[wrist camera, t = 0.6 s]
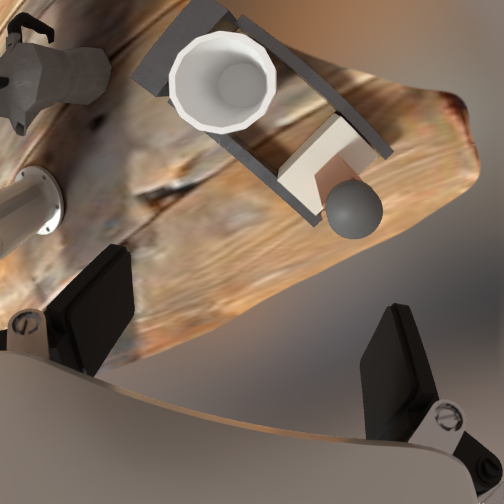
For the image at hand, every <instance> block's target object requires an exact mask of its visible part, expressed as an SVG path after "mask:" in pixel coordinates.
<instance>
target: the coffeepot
mask: <svg viewBox="0 0 504 504" xmlns="http://www.w3.org/2000/svg"><path fill="white" fill-rule="evenodd" d="M21 26H24V27H26V28H29V29H33V30H34V31H36V32H37V33H40V34H46V35H47V38H48V43H49V44H50V43H52V42H54V29H53V28H51V27H49V26H48V25H46V24H45V23H43V22H41V21H40V20H38V19H36V18H34V17H33V16H31V15H29V14H28V13H25V12H21V13H19V14H18V15H16V16H15V17H14V18H13V19H12V21H11V22H10V23H9V24H8V27H7V30H8V37H6V49H7V50H6V52H5V53H4V54H3V55H2V57H1V58H0V117H4V118H9V120H10V122H11V124H12V127H13V129H14V130H15V131H16V134H17V135H19V136H25V135H26V130H27V128H28V127H29V125H30V124H31V122H32V121H33V120H34V118H35V117H36V116H37V114H38V113H39V112H40V111H41V110H43V109H45V108H47V107H50V106H52V105H53V104H54V103H56V102H62V103H72V104H81V105H89V104H90V103H92V102H93V101H94V100H96V99H97V98H99V97H100V96H101V95H102V94H103V93H104V92H106V89H107V86H108V83H109V80H110V75H111V69H112V67H111V64H110V62H109V59H108V57H107V56H106V54H105V53H104V51H103V49H99V48H91V47H79V48H73V49H68V50H63V51H60V50H56V49H53V48H49V47H45V46H41V45H37V44H34V43H22V31H21Z"/></svg>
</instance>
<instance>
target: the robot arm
mask: <svg viewBox="0 0 504 504" xmlns="http://www.w3.org/2000/svg"><path fill="white" fill-rule="evenodd" d="M63 214H64V203H63V197H62V193H61V190H60V188H59V185H58V184H57V182H56V180H55V179H54V177H53V176H52V175H51V174H50V173H49V172H48V171H47V170H46V169H44V168H42V167H40V166H35V165H33V166H28V167H26V168H24V169H22V170H21V171H20V172H19V173H18V174H17V176H16V178H15V181H14V183H12V184H11V185H9V186H7V187H5V188H3V189H1V190H0V261H1V260H2V259H3V258H4V257H6V256H7V255H8V254H9V253H11V252H12V251H13V250H14V249H16V248H17V247H18V246H20V245H21V244H25V243H26V241H27V239H29V238H30V237H32V236H33V235H34V234H36V233H37V234H41V235H46V234H50V233H51V232H53V231H54V230H55V229H57V228H58V226H59V225H60V223H61V221H62V218H63ZM134 311H135V307H134V296H133V284H132V269H131V255H130V252H128V251H127V249H126V247H124V246H119V245H115V244H110V245H109V246H108V247H107V248H106V249H104V250H103V251H102V252H101V253H100V254H99V255H98V256H97V257H96V258H95V259H94V260H93V261H92V262H91V263H90V264H89V265H88V266H87V267H86V268H85V269H83V270H82V271H81V272H80V273H79V274H78V275H77V276H76V277H75V278H74V279H73V280H72V281H71V282H70V283H69V284H68V285H67V286H66V287H65V288H64V289H63V290H62V291H61V292H60V294H59V295H58V296H57V297H56V298H55V299H54V300H53V301H52V302H51V303H50V304H49V305H48V306H47V310H46V311H45V312H44V313H42V312H41V311H39V310H37V309H24V310H21V311H19V312H17V313H16V314H14V315H13V316H12V317H11V319H10V320H9V323H8V329H6V330H1V331H0V504H504V482H502V480H501V478H502V471H503V469H502V465H501V463H500V461H499V459H498V458H497V457H496V456H495V455H494V454H493V453H492V452H490V451H489V450H488V449H487V448H485V447H484V446H483V445H482V444H480V443H479V442H478V441H477V440H476V439H474V438H473V437H472V436H470V435H469V434H468V433H467V432H466V431H465V428H466V424H467V421H466V416H465V413H464V411H463V410H462V408H461V407H460V406H458V405H457V404H456V403H454V402H453V401H450V400H446V399H444V400H439V397H438V393H437V389H436V386H435V382H434V379H433V375H432V372H431V369H430V365H429V363H428V359H427V356H426V353H425V350H424V347H423V344H422V341H421V338H420V335H419V332H418V329H417V326H416V323H415V321H414V318H413V315H412V312H411V310H410V307H409V306H408V305H402V304H397V303H394V304H393V305H392V306H388V307H387V308H386V310H385V312H384V314H383V316H382V318H381V320H380V322H379V325H378V326H377V328H376V331H375V333H374V335H373V336H372V339H371V340H370V343H369V344H368V346H367V348H366V350H365V352H364V354H363V356H362V358H361V361H360V373H361V382H362V393H363V404H364V415H365V416H364V417H365V430H366V439H357V438H346V437H336V436H327V435H318V434H310V433H303V432H296V431H289V430H283V429H277V428H271V427H265V426H260V425H255V424H250V423H245V422H240V421H235V420H231V419H226V418H222V417H218V416H214V415H210V414H206V413H202V412H198V411H194V410H190V409H187V408H183V407H180V406H176V405H173V404H169V403H166V402H163V401H159V400H156V399H153V398H149V397H147V396H144V395H140V394H138V393H135V392H132V391H129V390H126V389H123V388H120V387H118V386H115V385H112V384H110V383H107V382H104V381H102V380H99V379H96V378H94V376H95V374H96V373H97V371H98V370H99V368H100V366H101V365H102V363H103V362H104V360H105V359H106V357H107V356H108V354H109V352H110V351H111V349H112V348H113V346H114V345H115V343H116V342H117V340H118V339H119V337H120V336H121V334H122V333H123V331H124V330H125V328H126V327H127V325H128V324H129V322H130V321H131V319H132V317H133V315H134Z"/></svg>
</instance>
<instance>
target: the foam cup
mask: <svg viewBox="0 0 504 504" xmlns="http://www.w3.org/2000/svg"><path fill="white" fill-rule="evenodd" d="M276 93H277V70H276V69H275V67H274V65H273V63H272V61H271V59H270V57H269V56H268V54H267V52H266V50H265V48H264V47H262V46H261V45H259V44H258V43H257V42H255V41H254V40H252V39H251V38H249V37H248V36H246V35H245V34H240V33H233V32H226V31H217V32H214V33H210V34H207V35H204V36H200V37H197V38H195V39H194V40H193V41H192V42H191V43H190V44H188V45H187V46H186V47H185V48H184V49H183V50H182V51H180V52H179V53H178V55H177V57H176V59H175V62H174V64H173V66H172V68H171V71H170V73H169V94H170V99H171V101H172V102H173V104H174V106H175V108H176V110H177V112H178V113H179V115H180V117H181V118H183V119H184V120H186V121H187V122H188V123H190V124H191V125H192V126H194V127H195V128H197V129H198V130H201V131H207V132H212V133H217V134H226V133H230V132H234V131H238V130H243V129H246V128H247V127H249V126H250V125H251V124H252V123H254V122H255V121H256V120H258V119H259V118H260V117H261V116H263V115H264V114H265V113H267V111H268V109H269V107H270V105H271V103H272V101H273V99H274V97H275V95H276Z"/></svg>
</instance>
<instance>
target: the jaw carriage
mask: <svg viewBox="0 0 504 504" xmlns="http://www.w3.org/2000/svg"><path fill="white" fill-rule="evenodd" d="M377 157H378V154H377V153H376V152H375V151H374V150H373V149H372V148H371V147H370V146H369V145H368V144H367V143H366V141H365V140H364V139H363V138H362V137H361V136H360V135H359V134H358V133H357V132H356V131H355V130H354V129H353V128H352V127H351V126H350V125H349V124H348V123H347V122H346V121H345V120H344V119H343V118H342V117H341V116H339V115H337V114H335V113H333V114H332V115H331V116H330V117H329V118H328V119H327V120H326V121H325V122H324V123H323V124H322V125H321V126H320V127H319V128H318V129H317V130H316V131H315V132H314V133H313V134H312V135H311V136H310V137H309V138H308V139H307V140H306V141H305V142H304V143H303V144H302V145H301V146H300V147H299V148H298V149H297V150H296V151H295V152H294V153H293V154H292V155H291V156H290V157H289V158H288V160H287V161H286V162H285V163H284V164H283V165H282V166H281V167H280V168H279V172H278V178H277V181H278V182H279V183H281V184H282V185H283V186H284V187H285V188H286V189H287V190H288V191H289V192H290V193H292V194H293V195H294V196H295V197H296V198H297V199H298V200H299V201H300V202H301V203H303V204H304V205H305V206H306V207H307V208H308V209H309V210H310V211H311V212H312V213H313V214H314V215H315V216H316V215H317V214H318V213H319V212H320V211H321V210H322V209H323V208H325V209H326V214H327V218H328V221H329V224H330V226H331V228H332V229H333V230H334V231H335V232H336V233H337V234H338V235H340V236H342V237H344V238H348V239H360V238H363V237H366V236H368V235H370V234H371V233H372V232H374V231H375V230H376V228H377V227H378V226H379V224H380V222H381V219H382V215H383V207H382V203H381V200H380V198H379V197H378V195H377V194H376V193H375V192H374V190H373V189H372V188H371V187H370V186H369V185H368V184H366V183H364V182H363V181H362V180H361V178H360V177H359V176H358V175H359V174H360V173H361V172H363V171H364V170H365V169H366V168H367V167H368V166H369V165H370V164H371V163H372V162H373V161H374V160H375V159H376V158H377Z"/></svg>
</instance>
